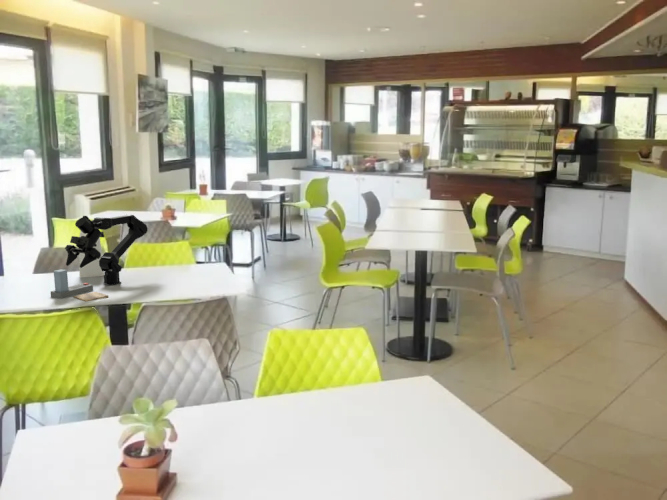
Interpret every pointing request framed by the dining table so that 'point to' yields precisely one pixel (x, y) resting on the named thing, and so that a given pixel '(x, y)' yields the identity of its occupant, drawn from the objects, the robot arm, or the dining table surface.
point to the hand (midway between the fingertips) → (73, 266)
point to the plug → (61, 280)
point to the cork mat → (90, 296)
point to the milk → (91, 263)
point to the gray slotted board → (73, 290)
